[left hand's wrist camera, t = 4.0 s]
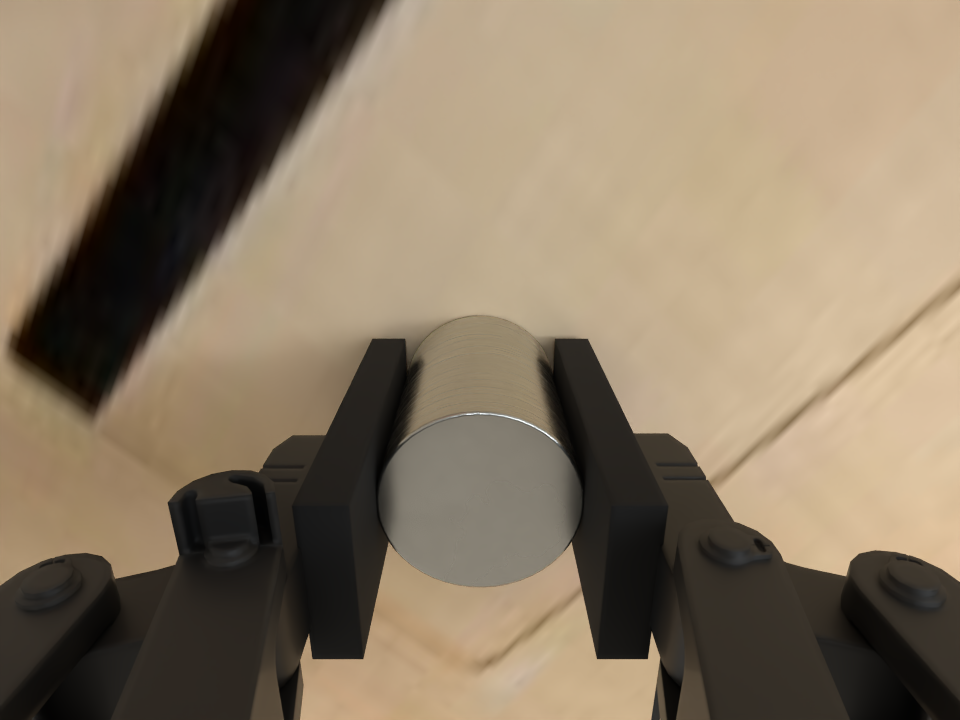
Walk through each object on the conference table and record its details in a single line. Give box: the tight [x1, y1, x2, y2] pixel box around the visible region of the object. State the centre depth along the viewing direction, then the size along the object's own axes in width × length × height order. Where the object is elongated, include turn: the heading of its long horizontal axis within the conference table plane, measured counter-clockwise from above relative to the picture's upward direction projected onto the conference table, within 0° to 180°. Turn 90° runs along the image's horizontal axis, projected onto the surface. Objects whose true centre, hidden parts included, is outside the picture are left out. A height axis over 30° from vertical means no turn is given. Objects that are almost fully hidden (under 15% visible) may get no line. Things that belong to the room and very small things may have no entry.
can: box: [376, 316, 584, 587], centre depth 12 cm, size 4×4×5 cm
